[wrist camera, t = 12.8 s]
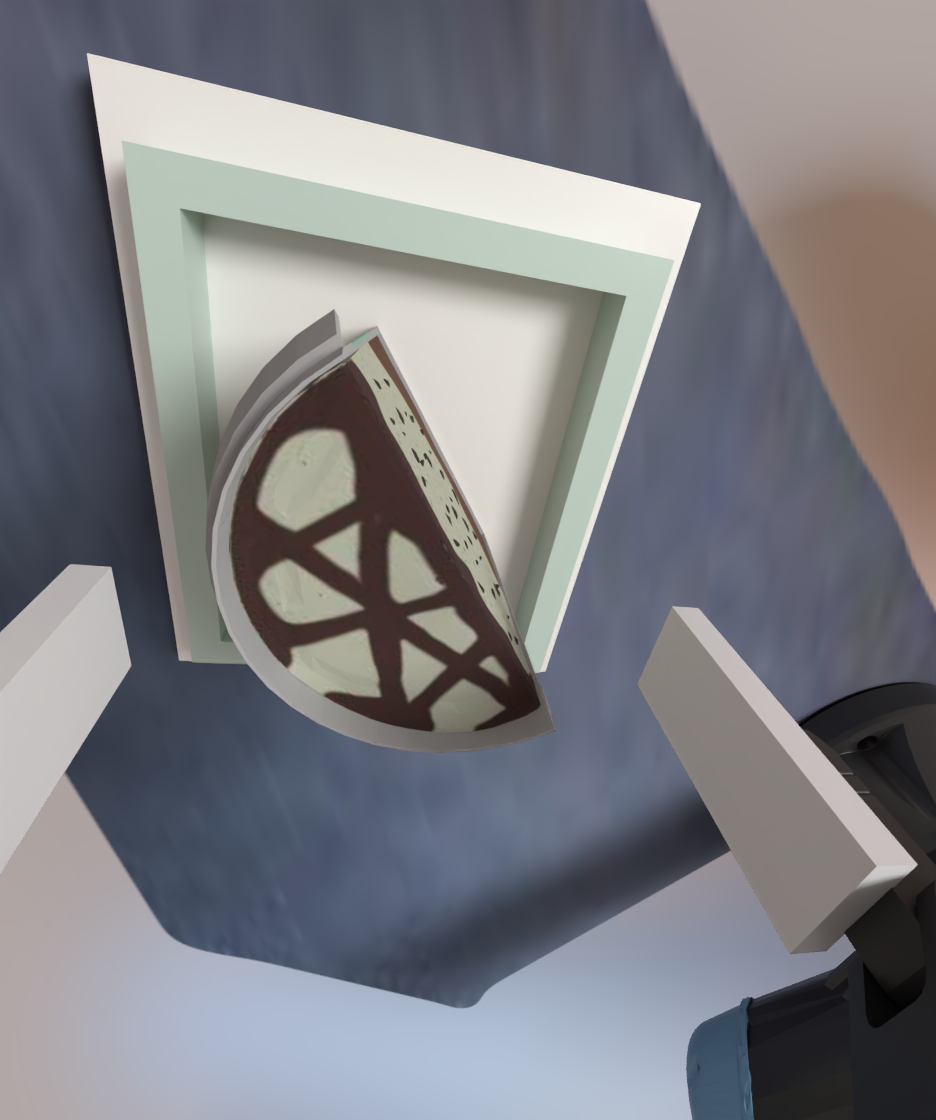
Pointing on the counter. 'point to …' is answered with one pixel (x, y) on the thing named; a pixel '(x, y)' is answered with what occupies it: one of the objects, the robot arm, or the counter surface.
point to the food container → (362, 559)
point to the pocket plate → (381, 309)
